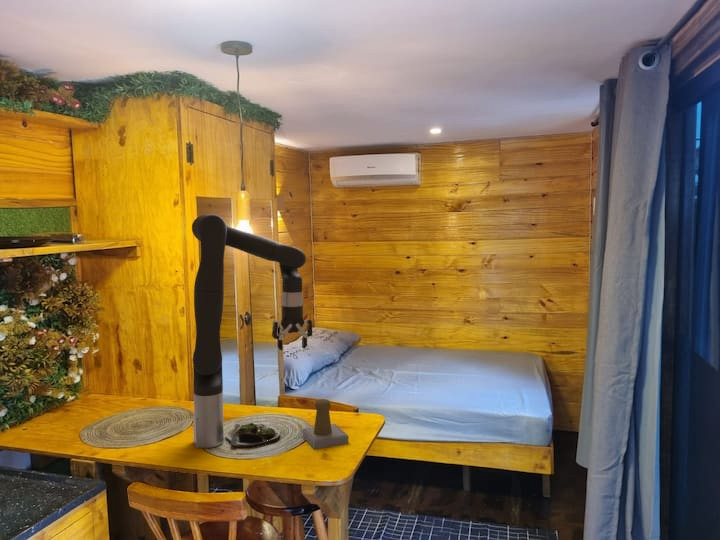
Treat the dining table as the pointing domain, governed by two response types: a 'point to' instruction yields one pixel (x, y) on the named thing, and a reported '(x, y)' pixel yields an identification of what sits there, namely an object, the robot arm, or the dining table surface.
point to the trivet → (325, 437)
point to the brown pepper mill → (322, 418)
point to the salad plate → (252, 435)
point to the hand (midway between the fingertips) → (292, 349)
